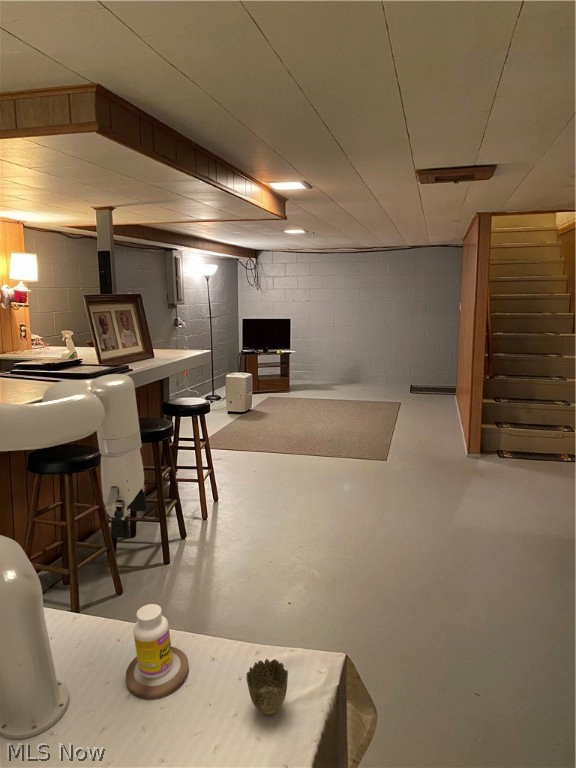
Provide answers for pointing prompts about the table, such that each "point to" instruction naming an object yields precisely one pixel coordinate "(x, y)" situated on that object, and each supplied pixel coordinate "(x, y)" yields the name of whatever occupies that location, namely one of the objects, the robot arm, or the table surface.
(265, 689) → the brown scalloped shell
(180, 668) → the plate
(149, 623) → the supplement bottle
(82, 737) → the table surface
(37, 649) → the robot arm
